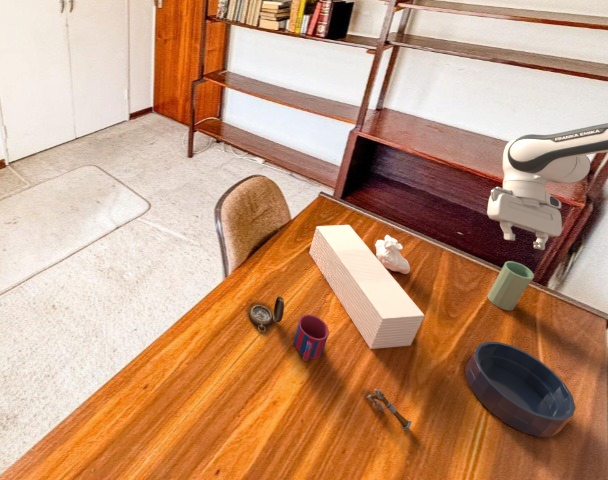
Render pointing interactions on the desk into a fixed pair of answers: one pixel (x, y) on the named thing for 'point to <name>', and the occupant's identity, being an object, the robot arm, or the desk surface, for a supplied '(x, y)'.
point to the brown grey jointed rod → (390, 407)
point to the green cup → (510, 285)
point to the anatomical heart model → (391, 255)
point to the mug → (310, 337)
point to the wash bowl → (519, 389)
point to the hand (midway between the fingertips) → (524, 244)
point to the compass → (267, 314)
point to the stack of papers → (365, 288)
